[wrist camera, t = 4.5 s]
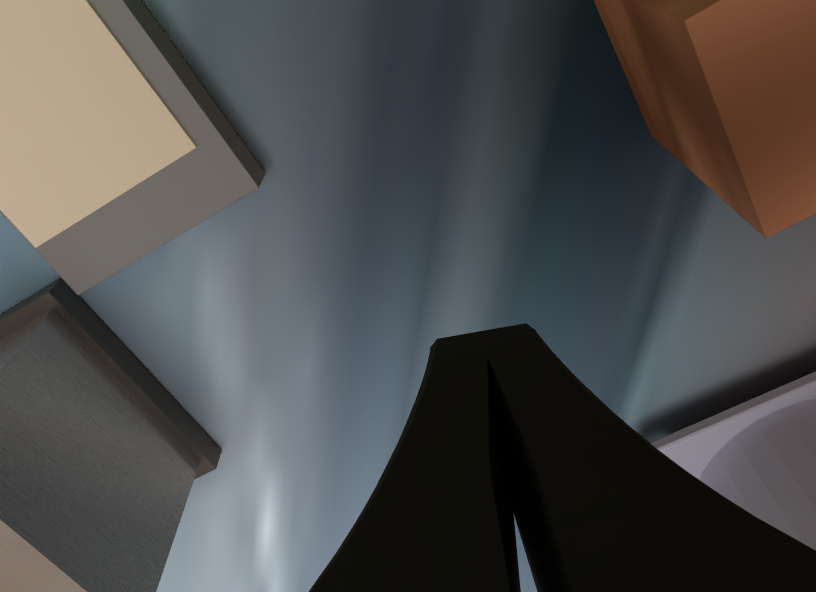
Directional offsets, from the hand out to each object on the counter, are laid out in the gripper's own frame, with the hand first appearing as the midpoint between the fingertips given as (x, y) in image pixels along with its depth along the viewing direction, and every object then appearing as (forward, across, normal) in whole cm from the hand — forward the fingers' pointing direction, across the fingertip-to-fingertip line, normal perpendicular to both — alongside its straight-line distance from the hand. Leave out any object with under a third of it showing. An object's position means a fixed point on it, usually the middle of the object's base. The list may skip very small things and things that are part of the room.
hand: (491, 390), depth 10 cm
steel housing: (+9, +11, +4) cm, 15 cm away
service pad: (+9, +8, -4) cm, 13 cm away
